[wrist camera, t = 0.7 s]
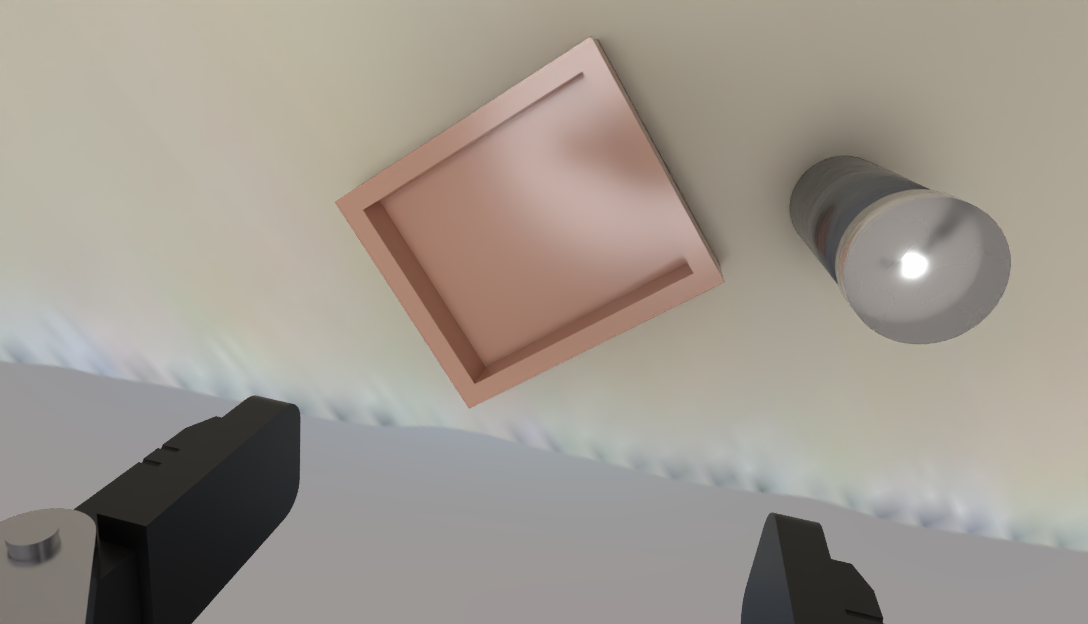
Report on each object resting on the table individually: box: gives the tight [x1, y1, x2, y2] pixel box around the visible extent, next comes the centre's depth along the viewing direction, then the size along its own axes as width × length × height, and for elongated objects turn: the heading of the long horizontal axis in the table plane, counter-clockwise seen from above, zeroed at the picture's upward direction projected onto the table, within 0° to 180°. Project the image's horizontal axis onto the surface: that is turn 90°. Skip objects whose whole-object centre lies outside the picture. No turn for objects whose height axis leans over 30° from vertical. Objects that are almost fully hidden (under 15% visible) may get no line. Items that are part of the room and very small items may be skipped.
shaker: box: [790, 156, 1011, 344], centre depth 27 cm, size 5×5×12 cm
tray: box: [335, 37, 724, 408], centre depth 34 cm, size 14×12×3 cm
